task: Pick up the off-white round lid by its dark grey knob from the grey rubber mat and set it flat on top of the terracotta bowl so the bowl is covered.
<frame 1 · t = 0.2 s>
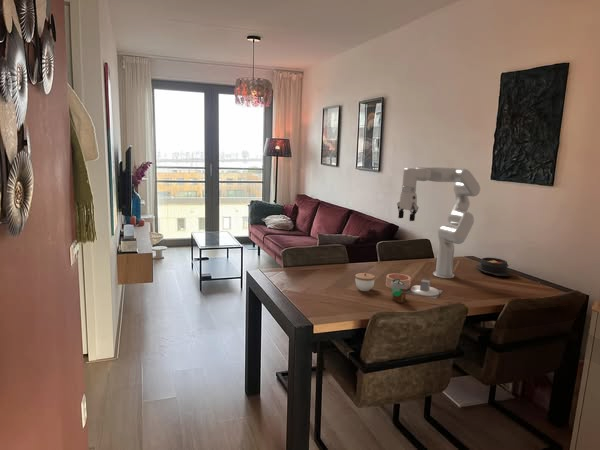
hand: (406, 219, 249), 37 cm above the table, tool pointing down, fingers open, 9 cm apart
bowl: (397, 287, 244), on the table
mat: (424, 292, 237), on the table
lid: (424, 291, 236), point 1 cm above the table, touching mat
lidded jar: (364, 289, 238), on the table
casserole: (492, 273, 280), on the table
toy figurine: (395, 300, 223), on the table
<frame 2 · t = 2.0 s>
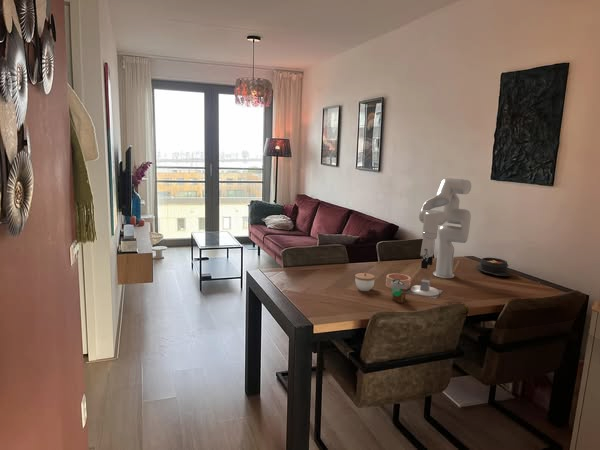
hand: (426, 266, 233), 15 cm above the table, tool pointing down, fingers open, 9 cm apart
nothing on the table moved.
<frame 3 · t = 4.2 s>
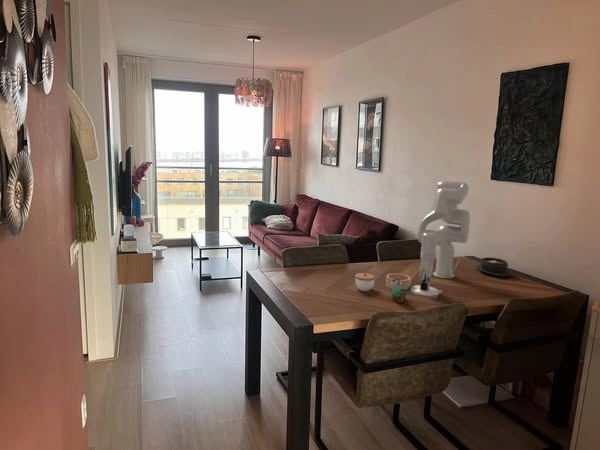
hand: (424, 288, 236), 2 cm above the table, tool pointing down, fingers closed on lid, 4 cm apart
lid: (424, 291, 236), point 1 cm above the table, touching gripper, mat
everything else where it was.
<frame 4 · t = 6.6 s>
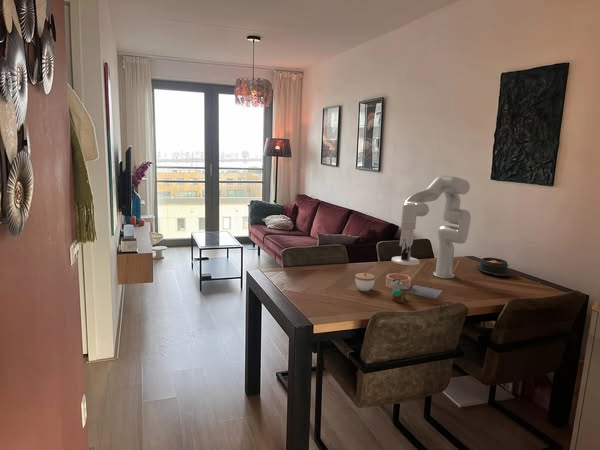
hand: (405, 258, 239), 17 cm above the table, tool pointing down, fingers closed on lid, 4 cm apart
lid: (405, 261, 240), point 15 cm above the table, touching gripper
everything else where it was.
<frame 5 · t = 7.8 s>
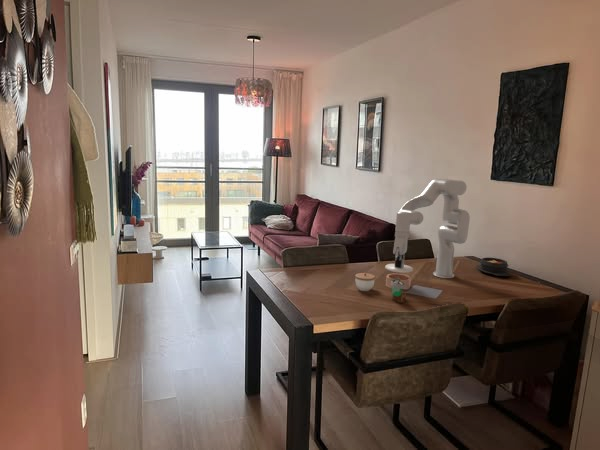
hand: (399, 265, 242), 13 cm above the table, tool pointing down, fingers closed on lid, 4 cm apart
lid: (399, 269, 242), point 11 cm above the table, touching gripper
everything else where it was.
when the fingers open (9 cm above the table, at t = 9.1 s): lid drops 1 cm, resting on bowl.
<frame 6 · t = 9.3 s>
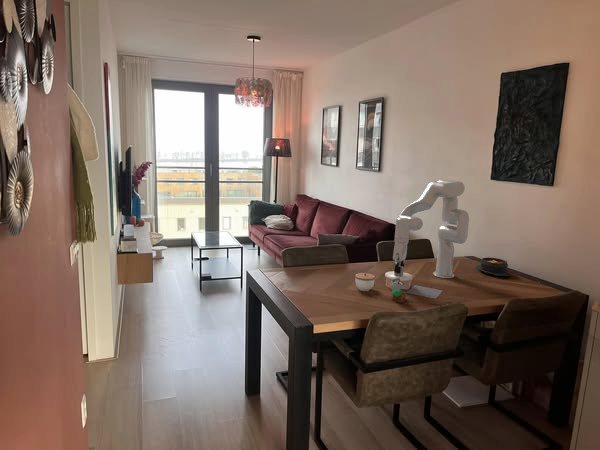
hand: (399, 271, 242), 9 cm above the table, tool pointing down, fingers open, 5 cm apart
lid: (398, 276, 243), point 6 cm above the table, touching bowl
everything else where it was.
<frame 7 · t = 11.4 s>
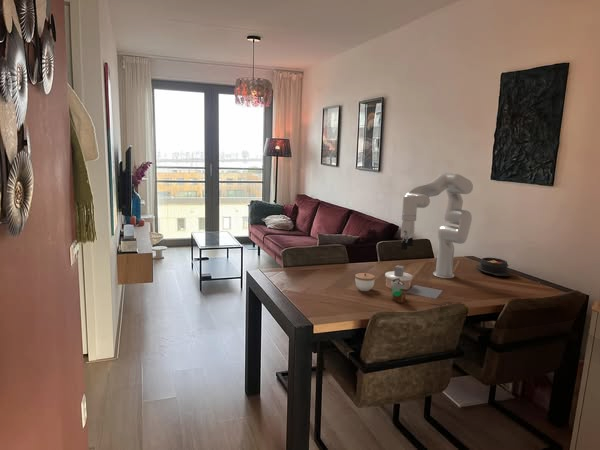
hand: (407, 247, 242), 23 cm above the table, tool pointing down, fingers open, 9 cm apart
nothing on the table moved.
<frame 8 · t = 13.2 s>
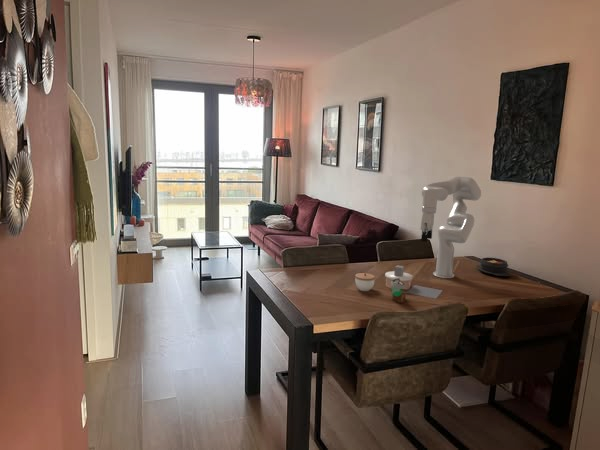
hand: (426, 239, 246), 26 cm above the table, tool pointing down, fingers open, 9 cm apart
nothing on the table moved.
at the end: lid 0.0 cm off-centre on the bowl, point 6.0 cm above the bowl's base; lid tilted 0°; the gripper is holding nothing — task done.
